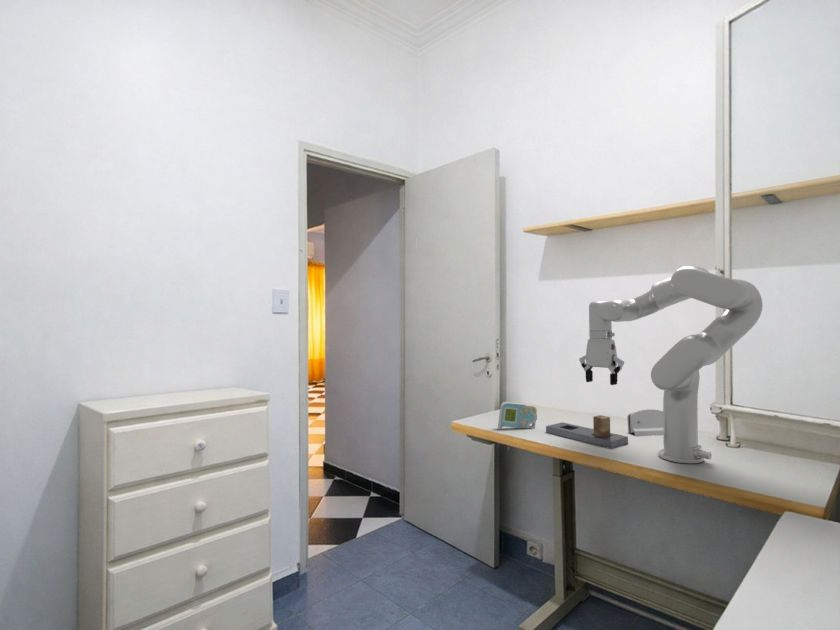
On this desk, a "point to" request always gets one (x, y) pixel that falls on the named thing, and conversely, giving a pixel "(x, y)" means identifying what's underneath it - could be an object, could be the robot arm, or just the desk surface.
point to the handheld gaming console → (517, 415)
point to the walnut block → (601, 426)
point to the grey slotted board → (586, 435)
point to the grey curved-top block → (646, 422)
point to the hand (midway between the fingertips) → (601, 383)
